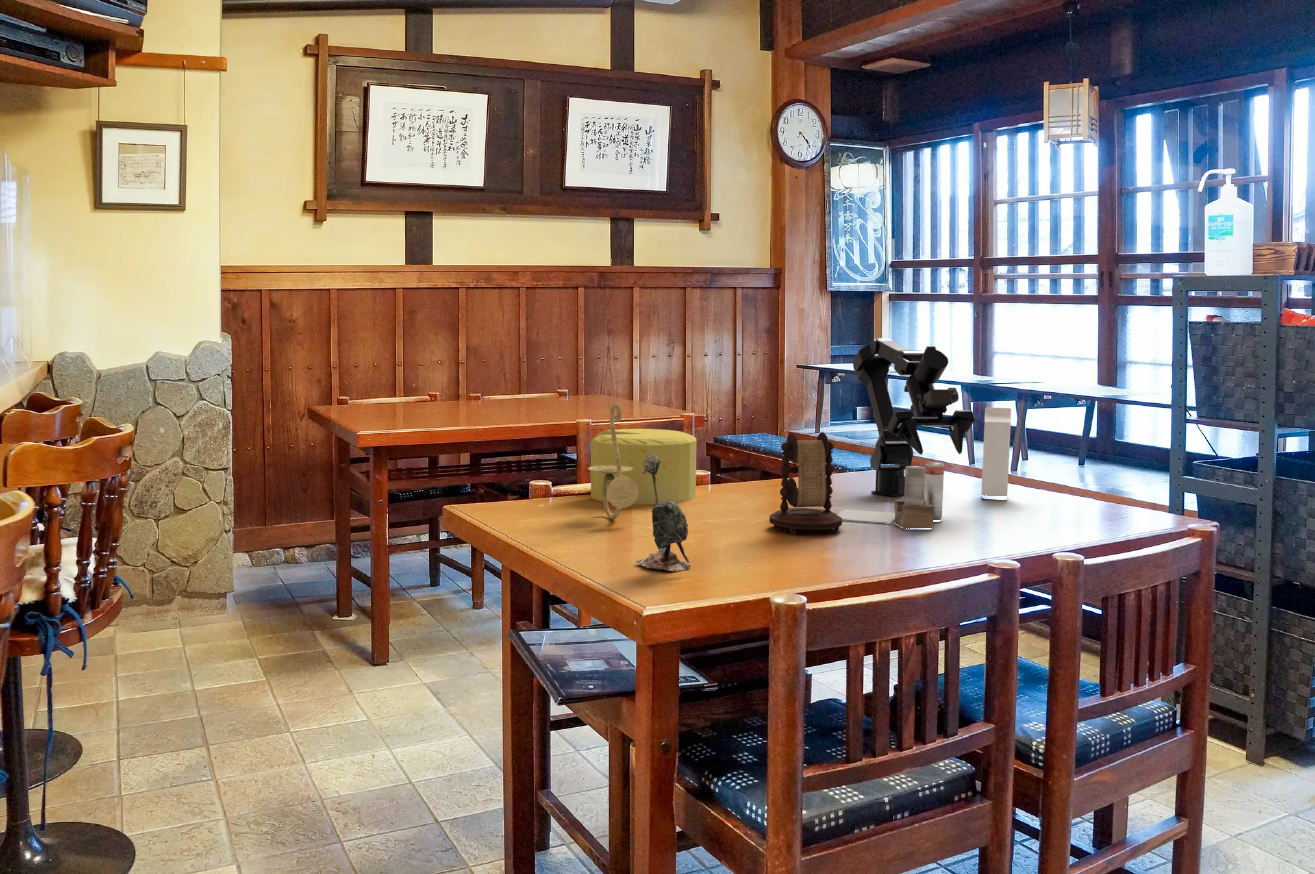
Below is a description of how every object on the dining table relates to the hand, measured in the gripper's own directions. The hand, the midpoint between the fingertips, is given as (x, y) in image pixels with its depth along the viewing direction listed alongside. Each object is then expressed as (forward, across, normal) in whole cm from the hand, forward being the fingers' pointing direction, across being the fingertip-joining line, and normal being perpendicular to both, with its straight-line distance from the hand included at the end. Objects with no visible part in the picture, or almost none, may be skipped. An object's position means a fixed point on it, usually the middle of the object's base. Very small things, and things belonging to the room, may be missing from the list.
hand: (941, 453), depth 242 cm
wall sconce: (+8, -72, +12) cm, 74 cm away
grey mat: (+11, -18, +8) cm, 22 cm away
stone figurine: (+38, -70, -22) cm, 83 cm away
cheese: (-12, -61, +35) cm, 71 cm away
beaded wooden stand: (+19, -35, 0) cm, 40 cm away
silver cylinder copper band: (+15, -5, +4) cm, 16 cm away
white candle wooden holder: (+19, -12, -1) cm, 22 cm away
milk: (-2, +23, +23) cm, 33 cm away
